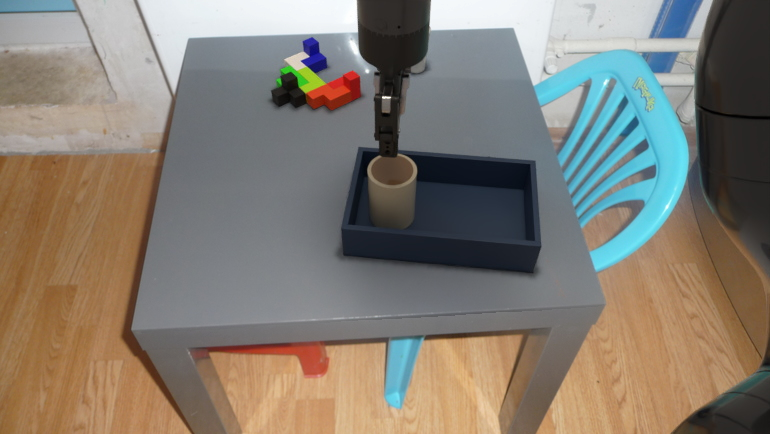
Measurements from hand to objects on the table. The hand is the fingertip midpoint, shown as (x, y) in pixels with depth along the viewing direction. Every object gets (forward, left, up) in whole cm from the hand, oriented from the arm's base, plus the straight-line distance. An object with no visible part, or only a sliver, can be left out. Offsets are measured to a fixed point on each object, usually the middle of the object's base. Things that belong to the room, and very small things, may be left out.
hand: (392, 131), depth 73 cm
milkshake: (+23, -27, -16) cm, 39 cm away
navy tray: (-5, -4, -16) cm, 18 cm away
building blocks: (+32, -9, -16) cm, 37 cm away
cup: (0, 0, -16) cm, 16 cm away
